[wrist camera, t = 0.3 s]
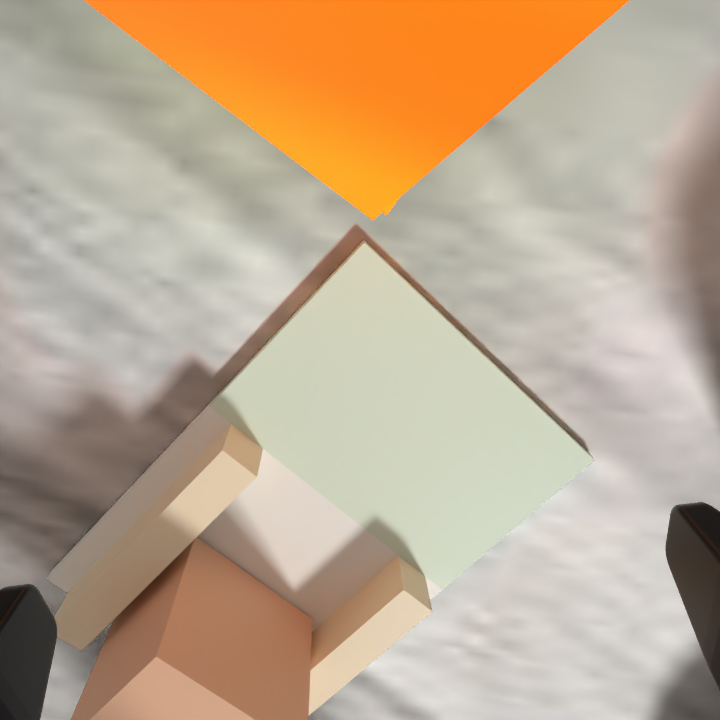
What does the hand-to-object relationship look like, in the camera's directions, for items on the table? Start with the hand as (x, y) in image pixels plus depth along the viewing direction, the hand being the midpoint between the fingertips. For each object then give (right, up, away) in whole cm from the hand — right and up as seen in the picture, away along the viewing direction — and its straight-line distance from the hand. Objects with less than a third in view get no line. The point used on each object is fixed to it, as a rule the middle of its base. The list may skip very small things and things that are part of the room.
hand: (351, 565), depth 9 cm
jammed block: (-6, -7, +17) cm, 20 cm away
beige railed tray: (-2, -3, +16) cm, 17 cm away
